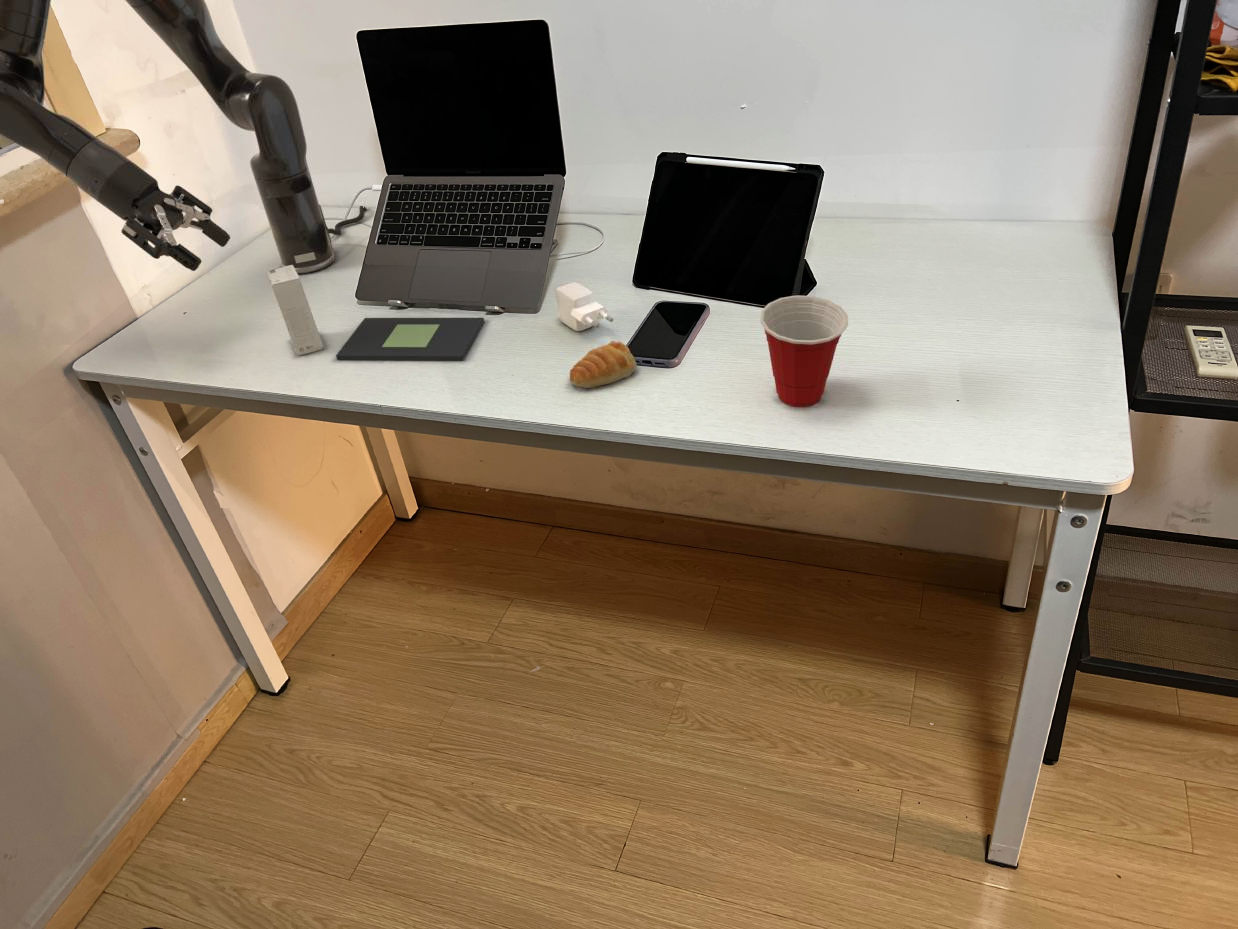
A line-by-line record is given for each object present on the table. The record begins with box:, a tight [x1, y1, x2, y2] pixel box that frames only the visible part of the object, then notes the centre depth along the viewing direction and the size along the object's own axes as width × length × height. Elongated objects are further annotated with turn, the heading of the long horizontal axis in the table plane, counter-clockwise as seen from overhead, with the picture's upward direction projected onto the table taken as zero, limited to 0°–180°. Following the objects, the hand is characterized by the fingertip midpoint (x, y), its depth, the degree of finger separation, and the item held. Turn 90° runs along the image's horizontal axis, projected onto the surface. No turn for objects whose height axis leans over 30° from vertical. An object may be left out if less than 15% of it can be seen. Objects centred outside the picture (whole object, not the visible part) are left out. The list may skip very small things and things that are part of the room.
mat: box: [335, 317, 485, 362], centre depth 142 cm, size 12×20×1 cm, turn 81°
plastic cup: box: [759, 295, 849, 408], centre depth 117 cm, size 11×11×12 cm
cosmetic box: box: [266, 265, 324, 356], centre depth 140 cm, size 6×4×12 cm
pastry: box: [569, 340, 638, 389], centre depth 128 cm, size 9×7×4 cm
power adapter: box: [555, 281, 614, 332], centre depth 139 cm, size 11×5×6 cm, turn 33°
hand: (213, 253), depth 137 cm, fingers open, 8 cm apart
